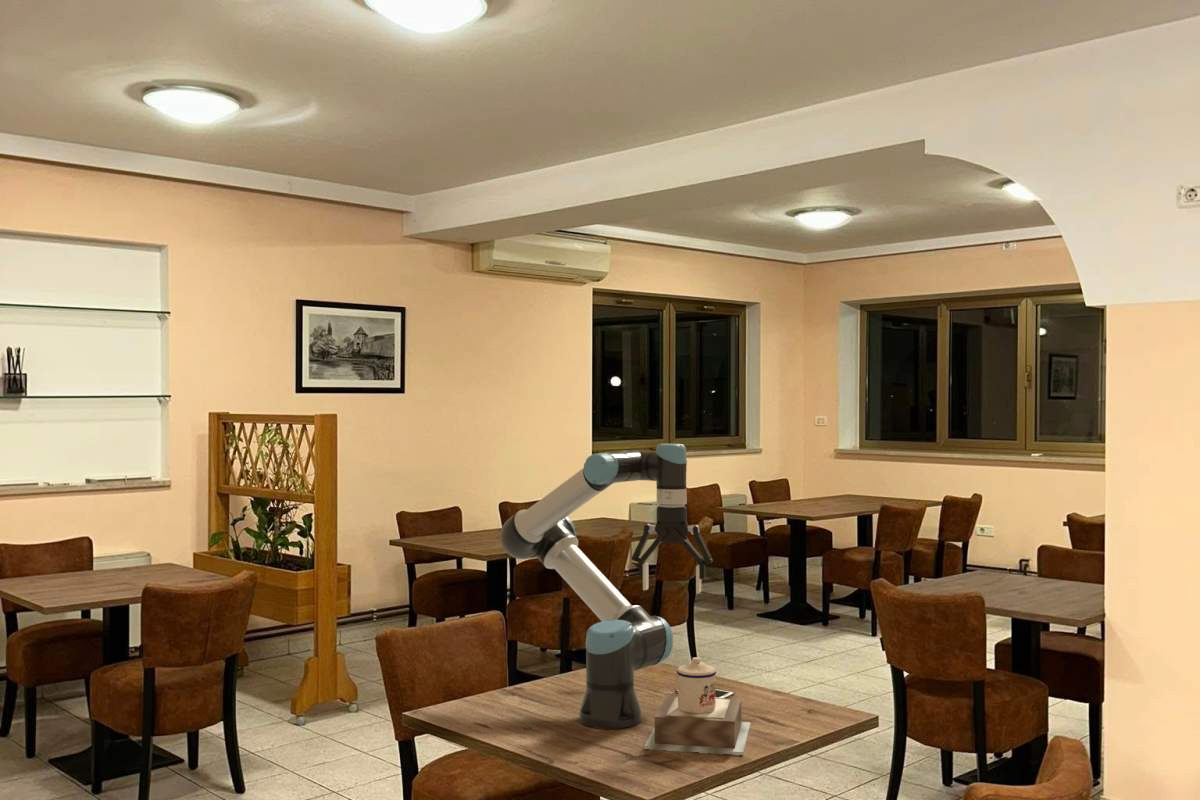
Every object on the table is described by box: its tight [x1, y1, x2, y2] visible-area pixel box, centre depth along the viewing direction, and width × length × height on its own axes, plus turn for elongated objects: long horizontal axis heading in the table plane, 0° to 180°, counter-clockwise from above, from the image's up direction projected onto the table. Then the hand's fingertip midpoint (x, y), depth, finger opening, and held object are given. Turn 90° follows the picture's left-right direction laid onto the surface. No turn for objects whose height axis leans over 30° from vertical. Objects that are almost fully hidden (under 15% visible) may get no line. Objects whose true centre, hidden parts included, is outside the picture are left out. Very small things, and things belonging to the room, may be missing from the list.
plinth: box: [643, 694, 752, 756], centre depth 244 cm, size 22×22×7 cm
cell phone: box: [675, 688, 736, 699], centre depth 280 cm, size 8×15×1 cm, turn 54°
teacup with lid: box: [676, 656, 717, 713], centre depth 244 cm, size 12×9×12 cm
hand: (672, 590), depth 262 cm, fingers open, 13 cm apart
